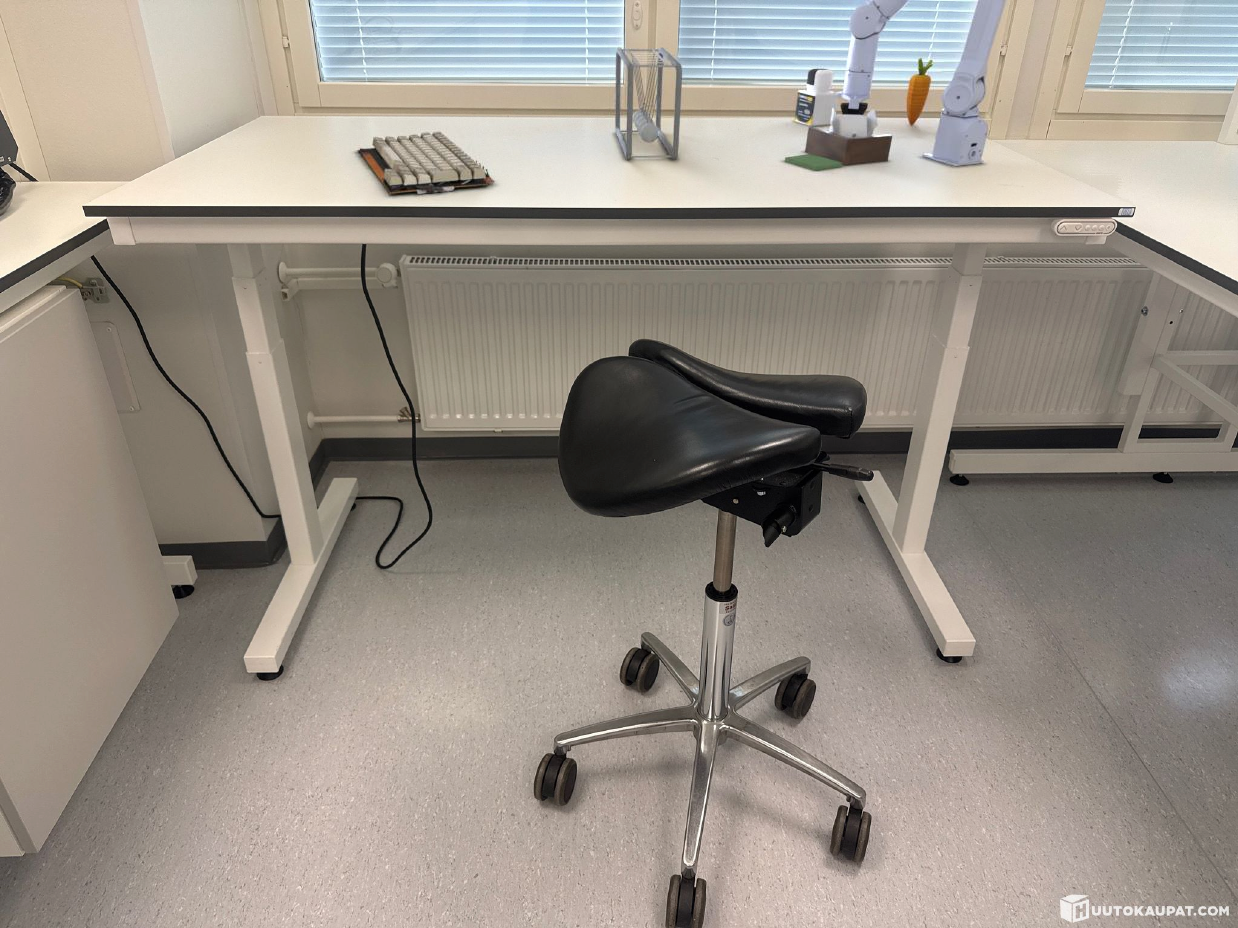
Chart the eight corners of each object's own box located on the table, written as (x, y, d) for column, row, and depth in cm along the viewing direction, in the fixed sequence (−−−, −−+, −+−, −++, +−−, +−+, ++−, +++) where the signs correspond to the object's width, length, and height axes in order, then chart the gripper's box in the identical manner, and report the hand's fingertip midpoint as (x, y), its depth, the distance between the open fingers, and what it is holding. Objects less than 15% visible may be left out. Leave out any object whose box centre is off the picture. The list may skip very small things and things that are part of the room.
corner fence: (887, 161, 168) (892, 135, 165) (843, 165, 164) (847, 139, 161) (847, 148, 178) (851, 123, 175) (804, 152, 174) (808, 127, 171)
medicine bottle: (793, 121, 203) (800, 68, 196) (817, 119, 206) (824, 66, 199) (811, 126, 198) (818, 72, 191) (834, 124, 200) (842, 70, 194)
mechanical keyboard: (356, 151, 168) (354, 134, 166) (448, 145, 174) (446, 128, 173) (391, 199, 139) (388, 178, 137) (499, 189, 146) (498, 170, 144)
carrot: (919, 124, 203) (933, 57, 194) (923, 127, 198) (938, 59, 190) (899, 123, 203) (912, 56, 195) (903, 127, 199) (916, 58, 191)
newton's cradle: (678, 162, 164) (683, 64, 155) (626, 162, 164) (628, 64, 154) (659, 132, 189) (663, 46, 180) (614, 132, 189) (615, 46, 179)
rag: (841, 166, 163) (842, 162, 163) (815, 171, 160) (816, 166, 160) (809, 157, 170) (810, 153, 169) (784, 161, 166) (784, 157, 166)
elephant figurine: (861, 147, 179) (869, 103, 174) (875, 159, 169) (883, 113, 164) (818, 146, 179) (824, 102, 174) (829, 158, 169) (835, 112, 164)
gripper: (841, 65, 178) (832, 131, 186) (838, 74, 167) (828, 144, 174) (875, 67, 177) (863, 133, 184) (874, 76, 165) (862, 146, 173)
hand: (848, 139), depth 179 cm, fingers closed
